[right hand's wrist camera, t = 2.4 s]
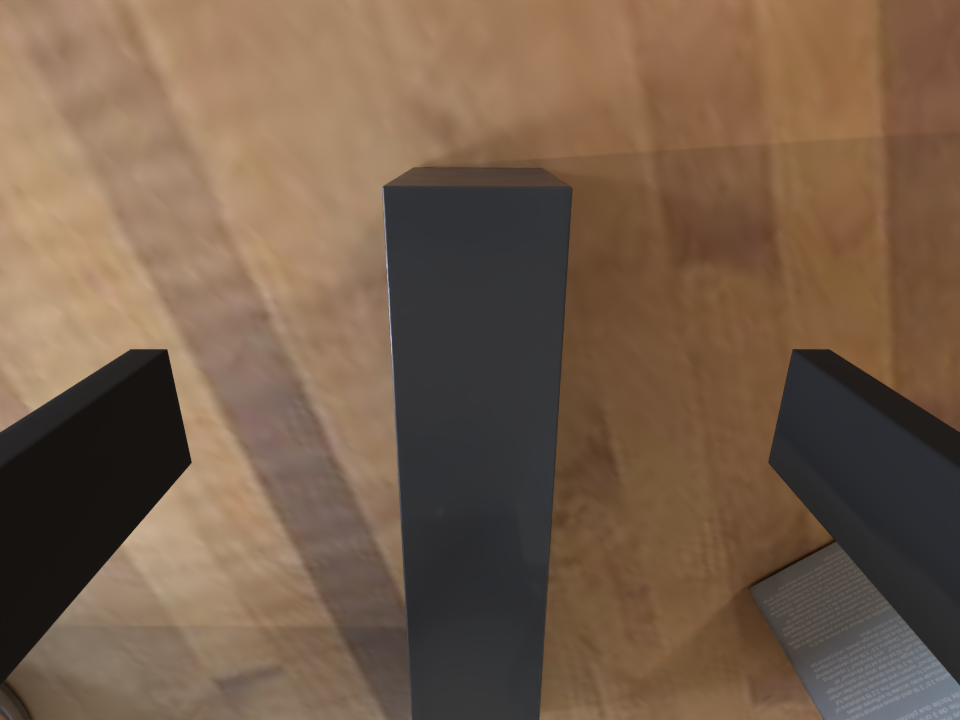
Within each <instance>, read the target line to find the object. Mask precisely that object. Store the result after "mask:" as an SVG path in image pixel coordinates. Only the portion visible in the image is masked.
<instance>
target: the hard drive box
mask: <svg viewBox="0 0 960 720" xmlns="http://www.w3.org/2000/svg"><path fill="white" fill-rule="evenodd" d="M750 593H751V595H752V597H753V599H754V601H755V603H756V605H757V606H758V608H759V610H760V612H761V613H762V615H763V617H764V619H765V620H766V622H767V624H768V626H769V627H770V629H771V631H772V632H773V634H774V636H775V638H776V639H777V641H778V643H779V644H780V646H781V648H782V650H783V651H784V653H785V655H786V656H787V658H788V660H789V661H790V663H791V665H792V667H793V668H794V670H795V672H796V673H797V675H798V677H799V679H800V680H801V682H802V684H803V685H804V687H805V689H806V691H807V692H808V694H809V696H810V697H811V699H812V701H813V703H814V704H815V706H816V708H817V709H818V711H819V713H820V715H821V716H822V718H823V720H960V685H959V684H958V683H957V682H956V680H955V679H954V678H953V677H952V676H951V675H950V674H949V672H948V671H947V670H946V669H945V668H944V667H943V665H942V664H941V663H940V662H939V661H938V660H937V658H936V657H935V656H934V655H933V654H932V653H931V651H930V650H929V649H928V648H927V647H926V646H925V644H924V643H923V642H922V641H921V640H920V639H919V637H918V636H917V635H916V634H915V633H914V632H913V630H912V629H911V628H910V627H909V626H908V625H907V623H906V622H905V621H904V620H903V619H902V618H901V616H900V615H899V614H898V613H897V612H896V611H895V609H894V608H893V607H892V606H891V605H890V604H889V603H888V601H887V600H886V599H885V598H884V597H883V596H882V594H881V593H880V592H879V591H878V590H877V589H876V587H875V586H874V585H873V584H872V583H871V582H870V580H869V579H868V578H867V577H866V576H865V575H864V573H863V572H862V571H861V570H860V569H859V568H858V566H857V565H856V564H855V563H854V562H853V561H852V559H851V558H850V557H849V556H848V555H847V554H846V552H845V551H844V550H843V549H842V548H841V547H840V545H839V544H838V543H837V542H834V543H832V544H831V545H829V546H827V547H825V548H823V549H821V550H819V551H817V552H816V553H814V554H812V555H810V556H808V557H806V558H804V559H802V560H801V561H799V562H797V563H795V564H793V565H791V566H789V567H787V568H786V569H784V570H782V571H780V572H778V573H777V574H775V575H773V576H771V577H769V578H767V579H765V580H764V581H762V582H760V583H758V584H756V585H754V586H752V587H751V588H750Z"/></svg>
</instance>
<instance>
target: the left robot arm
mask: <svg viewBox="0 0 960 720" xmlns="http://www.w3.org/2000/svg"><path fill="white" fill-rule="evenodd" d="M0 720H30V718H29V716H28V714H27V712H26V710H25V708H24V707H23V705H22V704H21V702H20V701H19V700H18V698H17V697H16V696H15V695H14V694H13V693H12V691H11V690H10V689H9V688H8V687H7V686H6V685H4V684H3V683H2V684H1V685H0Z"/></svg>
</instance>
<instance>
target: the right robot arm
mask: <svg viewBox="0 0 960 720" xmlns="http://www.w3.org/2000/svg"><path fill="white" fill-rule="evenodd" d="M191 463H192V462H191V457H190V453H189V448H188V443H187V439H186V434H185V429H184V425H183V420H182V415H181V411H180V406H179V401H178V397H177V392H176V388H175V383H174V378H173V374H172V369H171V364H170V360H169V355H168V350H167V349H131V350H129V351H128V352H126V353H124V354H123V355H121V356H120V357H118V358H117V359H115V360H113V361H112V362H110V363H109V364H107V365H106V366H104V367H102V368H101V369H99V370H98V371H96V372H95V373H93V374H91V375H90V376H88V377H87V378H85V379H84V380H82V381H80V382H79V383H77V384H76V385H74V386H73V387H71V388H69V389H68V390H66V391H65V392H63V393H62V394H60V395H58V396H57V397H55V398H54V399H52V400H51V401H49V402H47V403H46V404H44V405H43V406H41V407H40V408H38V409H36V410H35V411H33V412H32V413H30V414H29V415H27V416H25V417H24V418H22V419H21V420H19V421H18V422H16V423H14V424H13V425H11V426H10V427H8V428H7V429H5V430H3V431H2V432H0V685H1V684H2V683H3V682H4V680H5V679H6V678H7V677H8V676H9V675H10V674H11V672H12V671H13V670H14V669H15V668H16V667H17V665H18V664H19V663H20V662H21V661H22V660H23V658H24V657H25V656H26V655H27V654H28V653H29V651H30V650H31V649H32V648H33V647H34V646H35V644H36V643H37V642H38V641H39V640H40V639H41V637H42V636H43V635H44V634H45V633H46V632H47V630H48V629H49V628H50V627H51V626H52V625H53V623H54V622H55V621H56V620H57V619H58V618H59V616H60V615H61V614H62V613H63V612H64V611H65V609H66V608H67V607H68V606H69V605H70V604H71V603H72V601H73V600H74V599H75V598H76V597H77V596H78V594H79V593H80V592H81V591H82V590H83V589H84V587H85V586H86V585H87V584H88V583H89V582H90V580H91V579H92V578H93V577H94V576H95V575H96V573H97V572H98V571H99V570H100V569H101V568H102V566H103V565H104V564H105V563H106V562H107V561H108V559H109V558H110V557H111V556H112V555H113V554H114V552H115V551H116V550H117V549H118V548H119V547H120V545H121V544H122V543H123V542H124V541H125V540H126V538H127V537H128V536H129V535H130V534H131V533H132V532H133V530H134V529H135V528H136V527H137V526H138V525H139V523H140V522H141V521H142V520H143V519H144V518H145V516H146V515H147V514H148V513H149V512H150V511H151V509H152V508H153V507H154V506H155V505H156V504H157V502H158V501H159V500H160V499H161V498H162V497H163V495H164V494H165V493H166V492H167V491H168V490H169V488H170V487H171V486H172V485H173V484H174V483H175V481H176V480H177V479H178V478H179V477H180V476H181V474H182V473H183V472H184V471H185V470H186V469H187V467H188V466H189V465H190V464H191ZM768 463H769V464H770V465H771V466H772V467H773V469H774V470H775V471H776V472H777V473H778V474H779V476H780V477H781V478H782V479H783V480H784V481H785V483H786V484H787V485H788V486H789V487H790V488H791V490H792V491H793V492H794V493H795V494H796V495H797V497H798V498H799V499H800V500H801V501H802V502H803V504H804V505H805V506H806V507H807V508H808V509H809V511H810V512H811V513H812V514H813V515H814V516H815V518H816V519H817V520H818V521H819V522H820V523H821V525H822V526H823V527H824V528H825V529H826V530H827V532H828V533H829V534H830V535H831V536H832V537H833V538H834V540H835V541H836V542H837V543H838V544H839V545H840V547H841V548H842V549H843V550H844V551H845V552H846V554H847V555H848V556H849V557H850V558H851V559H852V561H853V562H854V563H855V564H856V565H857V566H858V568H859V569H860V570H861V571H862V572H863V573H864V575H865V576H866V577H867V578H868V579H869V580H870V582H871V583H872V584H873V585H874V586H875V587H876V589H877V590H878V591H879V592H880V593H881V594H882V596H883V597H884V598H885V599H886V600H887V601H888V603H889V604H890V605H891V606H892V607H893V608H894V609H895V611H896V612H897V613H898V614H899V615H900V616H901V618H902V619H903V620H904V621H905V622H906V623H907V625H908V626H909V627H910V628H911V629H912V630H913V632H914V633H915V634H916V635H917V636H918V637H919V639H920V640H921V641H922V642H923V643H924V644H925V646H926V647H927V648H928V649H929V650H930V651H931V653H932V654H933V655H934V656H935V657H936V658H937V660H938V661H939V662H940V663H941V664H942V665H943V667H944V668H945V669H946V670H947V671H948V672H949V674H950V675H951V676H952V677H953V678H954V679H955V680H956V682H957V683H958V684H959V685H960V432H958V431H957V430H955V429H953V428H952V427H950V426H949V425H947V424H946V423H944V422H942V421H941V420H939V419H938V418H936V417H935V416H933V415H931V414H930V413H928V412H927V411H925V410H924V409H922V408H920V407H919V406H917V405H916V404H914V403H913V402H911V401H909V400H908V399H906V398H905V397H903V396H902V395H900V394H898V393H897V392H895V391H894V390H892V389H891V388H889V387H887V386H886V385H884V384H883V383H881V382H880V381H878V380H876V379H875V378H873V377H872V376H870V375H869V374H867V373H865V372H864V371H862V370H861V369H859V368H858V367H856V366H854V365H853V364H851V363H850V362H848V361H847V360H845V359H843V358H842V357H840V356H839V355H837V354H836V353H834V352H832V351H831V350H829V349H793V350H792V355H791V360H790V364H789V369H788V374H787V378H786V383H785V388H784V392H783V397H782V401H781V406H780V411H779V415H778V420H777V425H776V429H775V434H774V439H773V443H772V448H771V453H770V457H769V462H768Z"/></svg>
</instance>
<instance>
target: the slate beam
mask: <svg viewBox="0 0 960 720" xmlns="http://www.w3.org/2000/svg"><path fill="white" fill-rule="evenodd" d="M382 194H383V212H384V230H385V248H386V266H387V284H388V302H389V319H390V337H391V355H392V373H393V391H394V409H395V427H396V445H397V462H398V480H399V498H400V516H401V534H402V552H403V570H404V588H405V605H406V623H407V641H408V659H409V677H410V695H411V713H412V720H539V716H540V700H541V684H542V668H543V652H544V636H545V620H546V604H547V588H548V572H549V556H550V539H551V523H552V507H553V491H554V475H555V459H556V443H557V427H558V411H559V395H560V378H561V362H562V346H563V330H564V314H565V298H566V282H567V266H568V250H569V234H570V218H571V201H572V187H570V186H569V185H567V184H566V183H564V182H563V181H561V180H560V179H558V178H557V177H555V176H554V175H552V174H551V173H549V172H548V171H546V170H545V169H543V168H430V167H414V168H412V169H410V170H409V171H407V172H405V173H404V174H402V175H401V176H399V177H397V178H396V179H394V180H392V181H391V182H389V183H388V184H386V185H384V186H383V187H382Z"/></svg>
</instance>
